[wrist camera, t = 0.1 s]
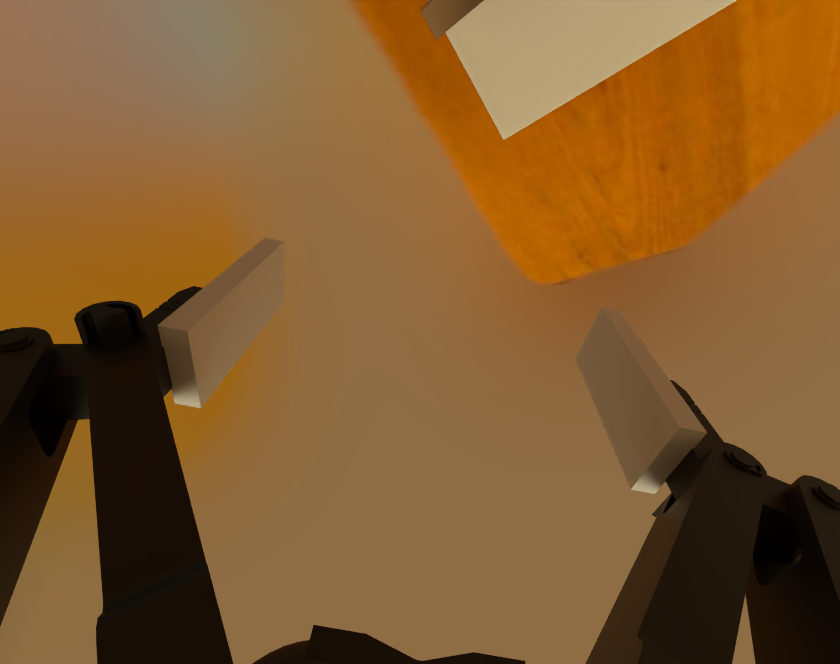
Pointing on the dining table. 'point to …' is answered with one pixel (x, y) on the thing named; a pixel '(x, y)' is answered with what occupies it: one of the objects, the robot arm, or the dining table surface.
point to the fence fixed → (446, 13)
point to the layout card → (560, 48)
